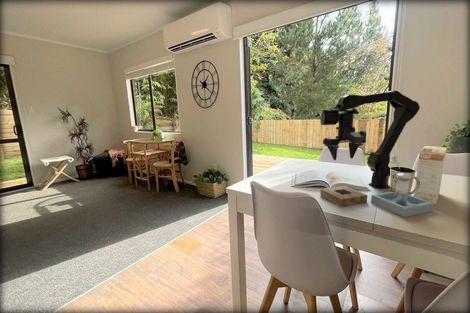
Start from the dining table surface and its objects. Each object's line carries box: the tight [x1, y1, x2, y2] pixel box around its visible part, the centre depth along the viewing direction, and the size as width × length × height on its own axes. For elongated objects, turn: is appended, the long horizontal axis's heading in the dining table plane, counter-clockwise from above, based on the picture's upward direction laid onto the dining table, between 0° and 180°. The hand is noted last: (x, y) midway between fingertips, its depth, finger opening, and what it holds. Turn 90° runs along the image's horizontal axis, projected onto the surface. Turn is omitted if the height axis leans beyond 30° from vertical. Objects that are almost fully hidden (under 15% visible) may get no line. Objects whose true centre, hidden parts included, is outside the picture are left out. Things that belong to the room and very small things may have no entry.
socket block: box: [320, 185, 368, 208], centre depth 91 cm, size 12×12×3 cm
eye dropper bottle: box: [388, 152, 401, 168], centre depth 118 cm, size 4×6×12 cm
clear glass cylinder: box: [395, 172, 414, 206], centre depth 81 cm, size 5×5×11 cm
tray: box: [370, 191, 434, 218], centre depth 82 cm, size 13×13×3 cm
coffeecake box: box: [413, 145, 447, 206], centre depth 88 cm, size 15×7×20 cm, turn 134°
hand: (343, 159), depth 102 cm, fingers open, 9 cm apart
